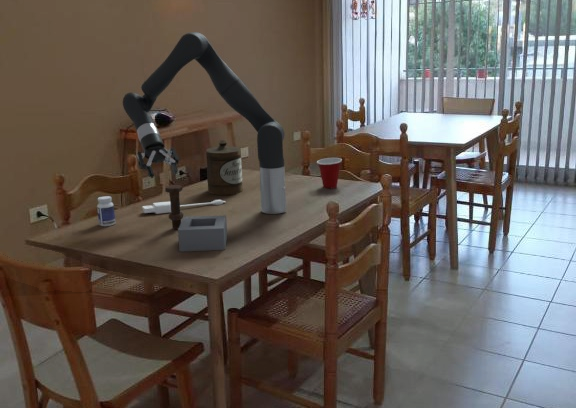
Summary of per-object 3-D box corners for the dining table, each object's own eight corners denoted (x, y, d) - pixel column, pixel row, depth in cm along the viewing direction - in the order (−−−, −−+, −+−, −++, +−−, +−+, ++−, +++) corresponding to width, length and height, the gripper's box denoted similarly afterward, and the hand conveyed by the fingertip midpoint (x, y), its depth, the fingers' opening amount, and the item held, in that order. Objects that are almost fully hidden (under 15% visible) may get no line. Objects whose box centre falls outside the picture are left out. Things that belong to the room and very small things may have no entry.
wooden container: (229, 196, 249) (226, 144, 243) (201, 193, 256) (197, 142, 251) (249, 188, 262) (247, 138, 256) (221, 185, 269) (219, 136, 263)
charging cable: (227, 207, 238) (227, 199, 237) (145, 215, 225) (144, 206, 224) (223, 204, 243) (223, 196, 242) (142, 212, 230) (141, 203, 229)
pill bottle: (118, 222, 218) (116, 196, 215) (109, 227, 213) (106, 200, 210) (105, 221, 220) (102, 195, 217) (95, 226, 215) (92, 199, 212)
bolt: (180, 231, 206) (177, 188, 202) (167, 230, 207) (163, 188, 203) (186, 226, 212) (183, 184, 208) (173, 225, 213) (170, 184, 209)
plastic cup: (313, 185, 264) (313, 158, 261) (336, 183, 267) (336, 156, 264) (322, 191, 254) (321, 163, 251) (345, 188, 257) (345, 161, 254)
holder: (227, 235, 200) (226, 215, 199) (224, 249, 187) (223, 228, 185) (185, 236, 200) (183, 216, 198) (179, 251, 186) (177, 230, 185)
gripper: (132, 134, 211) (146, 171, 205) (170, 130, 219) (185, 166, 212) (129, 147, 217) (143, 184, 211) (166, 142, 224) (180, 178, 218)
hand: (164, 175), depth 212 cm, fingers open, 8 cm apart
